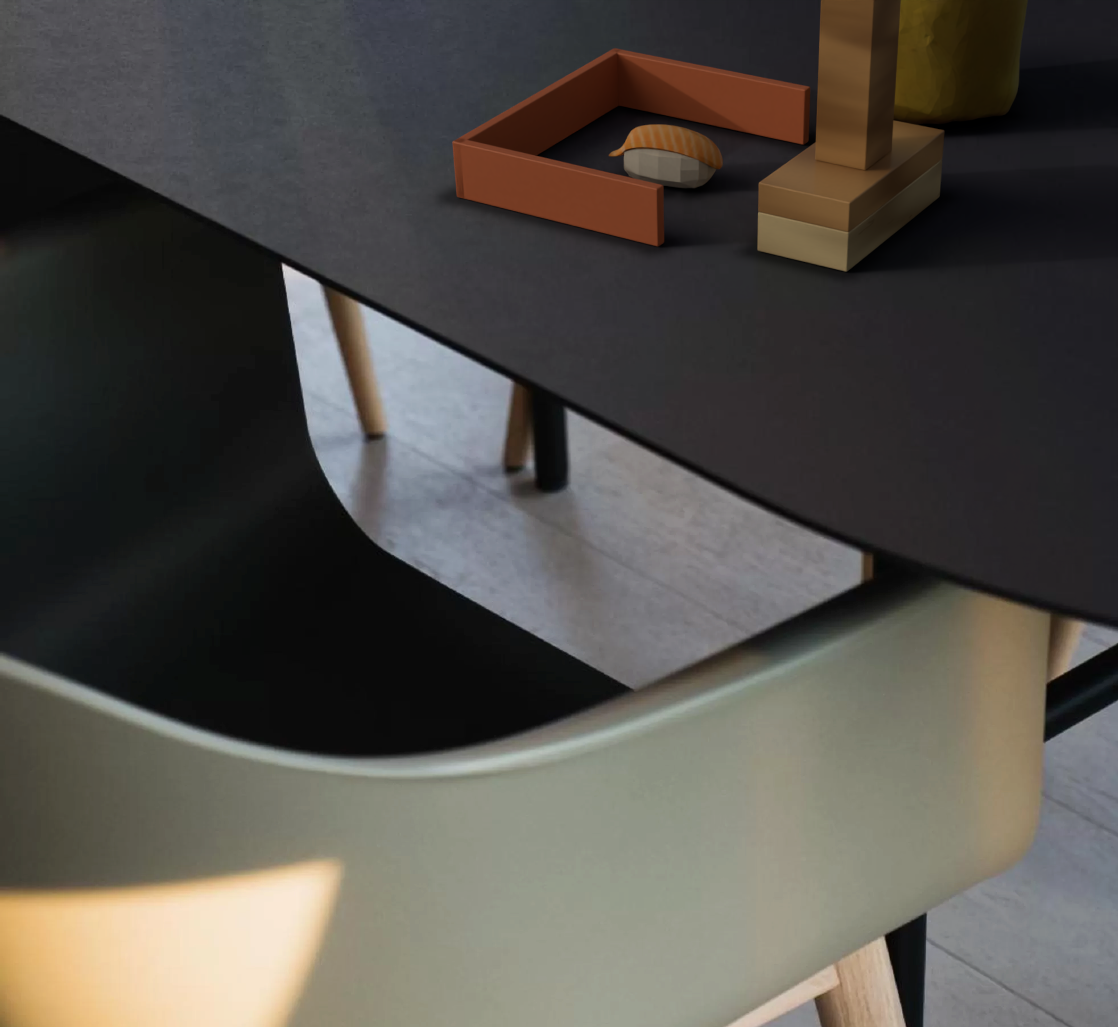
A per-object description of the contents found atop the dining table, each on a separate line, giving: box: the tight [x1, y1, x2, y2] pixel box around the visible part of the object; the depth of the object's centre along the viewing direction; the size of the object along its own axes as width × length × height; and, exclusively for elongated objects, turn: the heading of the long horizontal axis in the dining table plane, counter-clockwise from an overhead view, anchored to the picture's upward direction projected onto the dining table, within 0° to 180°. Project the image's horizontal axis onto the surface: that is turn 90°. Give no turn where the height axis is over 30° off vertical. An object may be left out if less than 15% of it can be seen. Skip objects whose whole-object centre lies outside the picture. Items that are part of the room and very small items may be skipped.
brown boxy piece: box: [757, 0, 945, 272], centre depth 98 cm, size 10×5×16 cm, turn 146°
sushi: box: [608, 124, 724, 189], centre depth 107 cm, size 3×6×3 cm, turn 65°
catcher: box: [452, 47, 811, 247], centre depth 109 cm, size 13×15×3 cm
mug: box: [894, 0, 1029, 125], centre depth 113 cm, size 12×10×10 cm
